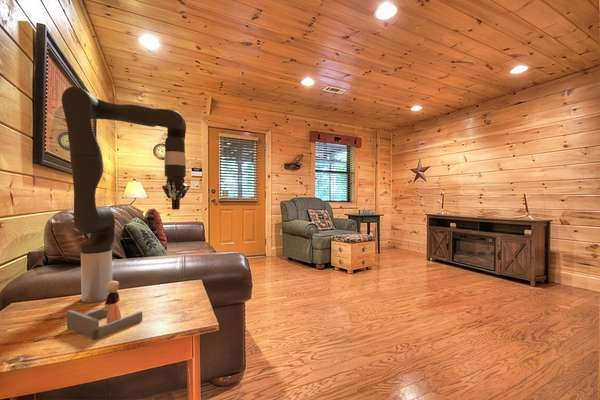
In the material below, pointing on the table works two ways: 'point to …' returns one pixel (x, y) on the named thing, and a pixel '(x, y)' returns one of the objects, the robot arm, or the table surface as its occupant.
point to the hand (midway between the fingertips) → (175, 209)
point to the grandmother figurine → (112, 302)
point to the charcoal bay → (97, 323)
